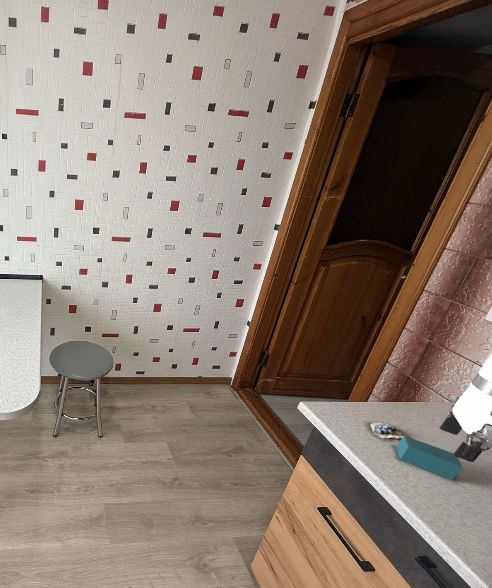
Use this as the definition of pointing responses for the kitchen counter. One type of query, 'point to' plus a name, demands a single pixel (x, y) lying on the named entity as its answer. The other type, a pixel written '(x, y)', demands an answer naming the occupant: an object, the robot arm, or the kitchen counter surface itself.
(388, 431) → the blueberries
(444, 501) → the kitchen counter surface
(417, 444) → the teal rectangular block
